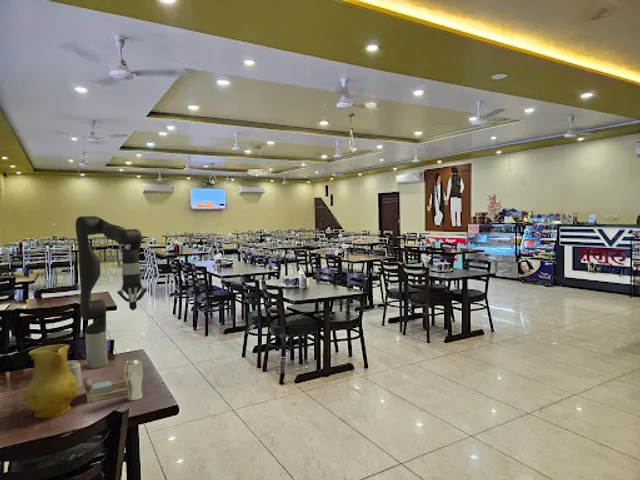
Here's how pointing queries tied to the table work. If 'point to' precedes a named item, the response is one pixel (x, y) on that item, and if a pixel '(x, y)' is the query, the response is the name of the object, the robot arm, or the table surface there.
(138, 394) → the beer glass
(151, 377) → the table surface
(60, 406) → the pitcher
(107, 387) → the pale teal block
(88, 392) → the bay
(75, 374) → the can
